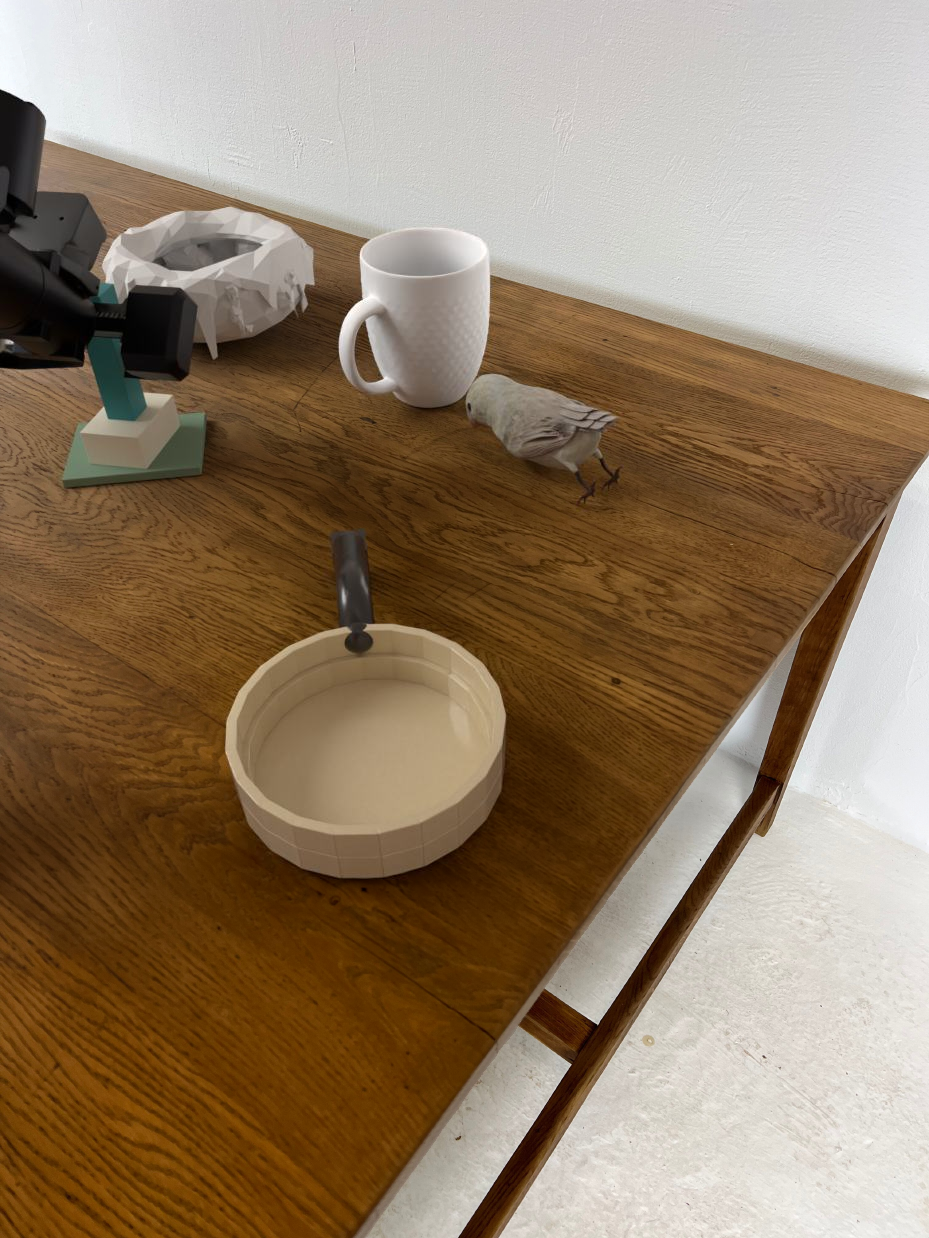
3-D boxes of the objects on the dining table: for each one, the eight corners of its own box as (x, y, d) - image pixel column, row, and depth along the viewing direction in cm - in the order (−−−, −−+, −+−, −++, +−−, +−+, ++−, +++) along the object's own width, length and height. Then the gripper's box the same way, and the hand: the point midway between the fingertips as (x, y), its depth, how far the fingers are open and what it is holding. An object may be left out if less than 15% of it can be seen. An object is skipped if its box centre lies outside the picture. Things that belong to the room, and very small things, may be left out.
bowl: (87, 324, 99) (58, 227, 92) (260, 274, 108) (245, 183, 101) (170, 401, 86) (144, 296, 80) (357, 338, 95) (348, 238, 89)
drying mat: (64, 488, 76) (61, 480, 76) (80, 431, 83) (77, 423, 82) (201, 475, 77) (199, 467, 77) (207, 419, 84) (205, 411, 83)
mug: (391, 452, 79) (379, 303, 71) (313, 405, 85) (294, 263, 77) (514, 391, 87) (517, 249, 78) (435, 352, 93) (429, 216, 84)
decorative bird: (494, 415, 84) (494, 336, 79) (630, 491, 75) (641, 407, 70) (448, 437, 81) (446, 356, 76) (584, 518, 72) (591, 432, 67)
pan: (236, 905, 48) (219, 855, 45) (243, 690, 59) (230, 638, 56) (528, 864, 49) (530, 813, 46) (480, 661, 61) (480, 610, 58)
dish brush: (146, 469, 77) (101, 311, 68) (90, 464, 77) (37, 306, 68) (180, 425, 82) (142, 272, 73) (127, 420, 82) (83, 269, 73)
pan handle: (345, 691, 59) (337, 636, 56) (335, 571, 68) (328, 519, 65) (383, 686, 59) (377, 632, 56) (368, 568, 68) (363, 515, 65)
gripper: (154, 170, 60) (245, 273, 75) (-109, 158, 62) (31, 260, 78) (131, 342, 59) (227, 410, 75) (-133, 323, 62) (13, 392, 77)
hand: (123, 363), depth 76 cm, fingers open, 7 cm apart
